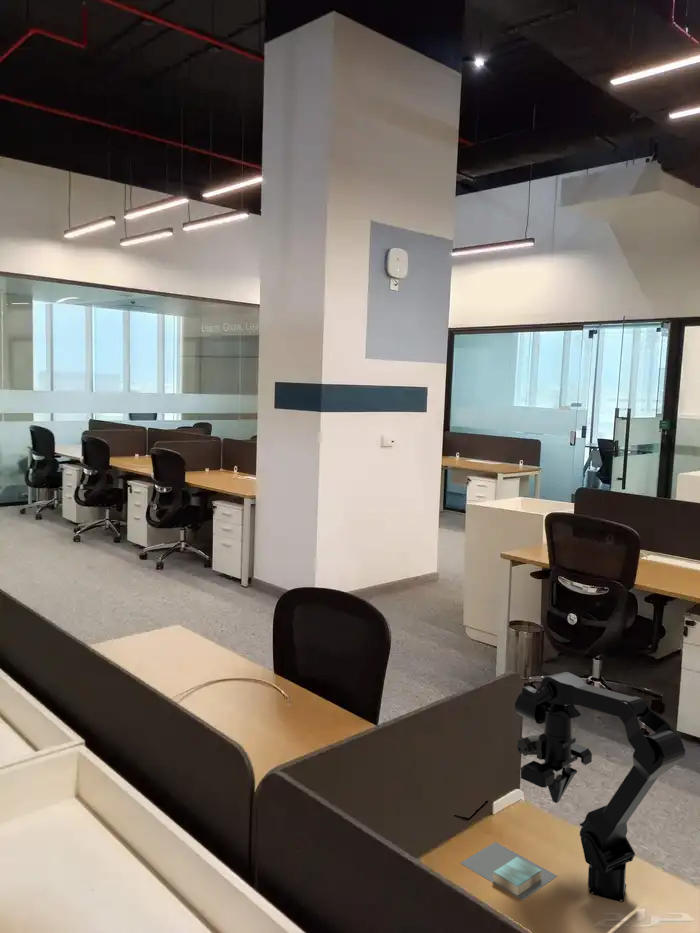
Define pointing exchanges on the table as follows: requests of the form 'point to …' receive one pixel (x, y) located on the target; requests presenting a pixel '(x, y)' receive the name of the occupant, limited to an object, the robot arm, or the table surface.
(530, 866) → the tile
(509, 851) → the mat
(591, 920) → the table surface
